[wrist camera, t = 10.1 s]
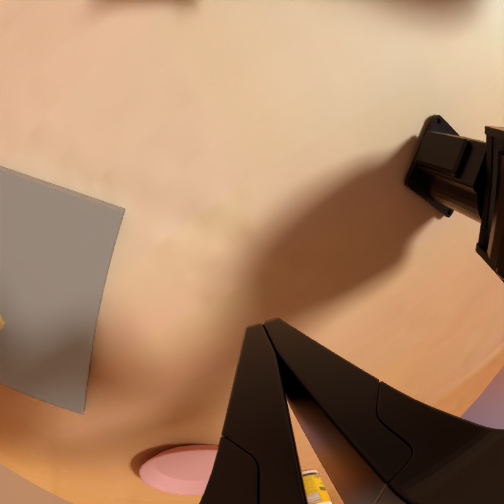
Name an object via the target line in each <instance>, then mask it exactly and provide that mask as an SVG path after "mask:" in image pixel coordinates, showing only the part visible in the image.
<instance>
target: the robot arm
mask: <svg viewBox="0 0 504 504" xmlns="http://www.w3.org/2000/svg"><path fill="white" fill-rule="evenodd" d="M485 134H486V142H484V141H480V140H475V139H471V138H466V137H461V136H459V135H458V133H457V132H456V131H455V130H454V129H453V128H452V127H451V126H450V125H449V124H448V123H447V122H446V121H445V120H444V119H443V118H442V117H441V116H440V115H433V116H432V118H431V120H430V123H429V125H428V128H427V130H426V133H425V135H424V137H423V140H422V142H421V145H420V147H419V149H418V151H417V154H416V156H415V158H414V161H413V163H412V165H411V167H410V170H409V172H408V174H407V176H406V178H405V186H406V187H407V188H408V189H409V190H411V191H412V192H413V193H415V194H416V195H418V196H419V197H420V198H422V199H423V200H424V201H426V202H427V203H428V204H430V205H431V206H432V207H434V208H435V209H436V210H437V211H439V212H440V213H441V214H442V215H444V216H446V217H450V216H451V215H452V213H453V211H454V210H455V211H457V212H459V213H461V214H463V215H465V216H467V217H470V218H472V219H474V220H476V221H478V222H480V223H481V226H480V233H479V239H478V243H477V245H476V252H477V253H478V254H479V255H480V256H481V257H482V258H483V260H484V261H485V262H486V263H487V264H488V265H489V266H490V267H491V268H492V270H493V271H494V272H495V273H496V274H497V275H498V276H499V278H500V279H501V280H502V281H503V282H504V127H494V126H485ZM411 180H412V183H411V184H410V182H411ZM287 401H288V403H289V405H290V407H291V409H292V411H293V413H294V415H295V417H296V418H297V420H298V422H299V424H300V426H301V428H302V430H303V431H304V433H305V435H306V437H307V439H308V440H309V442H310V444H311V446H312V448H313V450H314V451H315V453H316V455H317V457H318V458H319V460H320V462H321V464H322V466H323V467H324V469H325V471H326V473H327V474H328V476H329V478H330V480H331V481H332V483H333V485H334V487H335V488H336V490H337V492H338V493H339V495H340V497H341V499H342V500H343V502H344V504H504V429H494V428H489V427H485V426H482V425H478V424H475V423H473V422H470V421H468V420H465V419H462V418H459V417H457V416H454V415H452V414H449V413H446V412H444V411H441V410H439V409H436V408H434V407H431V406H429V405H427V404H424V403H422V402H420V401H418V400H415V399H413V398H411V397H409V396H408V395H406V394H404V393H402V392H400V391H398V390H396V389H394V388H393V387H391V386H389V385H387V384H386V383H384V382H382V381H381V382H379V379H377V378H375V377H374V376H372V375H370V374H369V373H367V372H365V371H364V370H362V369H360V368H359V367H357V366H355V365H354V364H352V363H350V362H349V361H347V360H345V359H344V358H342V357H340V356H339V355H337V354H335V353H334V352H332V351H331V350H329V349H327V348H326V347H324V346H322V345H321V344H319V343H318V342H316V341H314V340H313V339H311V338H310V337H308V336H306V335H305V334H303V333H302V332H300V331H299V330H297V329H295V328H294V327H292V326H291V325H289V324H287V323H286V322H284V321H283V320H281V319H280V318H274V319H271V320H268V321H265V322H264V323H263V324H261V323H258V324H255V325H251V326H248V327H247V328H246V329H245V334H244V338H243V342H242V347H241V351H240V356H239V360H238V365H237V369H236V373H235V378H234V382H233V386H232V391H231V395H230V400H229V404H228V408H227V412H226V417H225V421H224V425H223V430H222V437H221V438H220V442H219V446H218V450H217V454H216V458H215V461H214V465H213V468H212V472H211V475H210V477H209V480H208V483H207V486H206V488H205V491H204V494H203V496H202V498H201V501H200V503H199V504H308V499H307V495H306V490H305V485H304V480H303V475H302V471H301V466H300V461H299V456H298V451H297V447H296V442H295V437H294V432H293V428H292V423H291V418H290V413H289V409H288V404H287Z"/></svg>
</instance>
